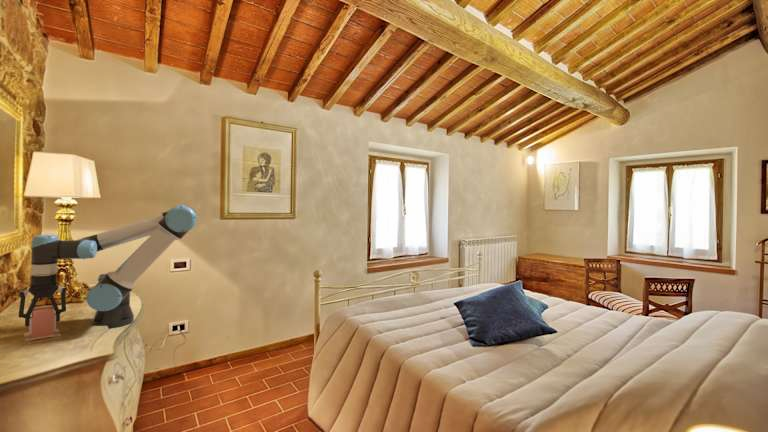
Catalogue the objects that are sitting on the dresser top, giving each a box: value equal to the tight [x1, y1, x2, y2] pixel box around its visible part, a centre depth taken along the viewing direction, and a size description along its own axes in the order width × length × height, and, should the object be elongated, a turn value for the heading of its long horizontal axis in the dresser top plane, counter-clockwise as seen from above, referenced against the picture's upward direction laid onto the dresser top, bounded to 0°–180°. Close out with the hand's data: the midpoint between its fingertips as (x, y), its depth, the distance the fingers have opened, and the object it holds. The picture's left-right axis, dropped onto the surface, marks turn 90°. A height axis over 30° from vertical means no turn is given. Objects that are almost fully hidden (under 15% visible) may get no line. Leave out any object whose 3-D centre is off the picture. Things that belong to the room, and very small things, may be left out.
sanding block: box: [31, 305, 55, 340], centre depth 137 cm, size 8×6×10 cm
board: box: [23, 326, 63, 345], centre depth 138 cm, size 16×10×1 cm, turn 48°
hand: (42, 331), depth 137 cm, fingers closed on sanding block, 6 cm apart
